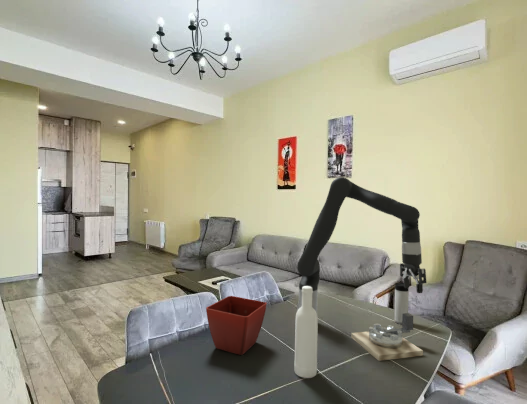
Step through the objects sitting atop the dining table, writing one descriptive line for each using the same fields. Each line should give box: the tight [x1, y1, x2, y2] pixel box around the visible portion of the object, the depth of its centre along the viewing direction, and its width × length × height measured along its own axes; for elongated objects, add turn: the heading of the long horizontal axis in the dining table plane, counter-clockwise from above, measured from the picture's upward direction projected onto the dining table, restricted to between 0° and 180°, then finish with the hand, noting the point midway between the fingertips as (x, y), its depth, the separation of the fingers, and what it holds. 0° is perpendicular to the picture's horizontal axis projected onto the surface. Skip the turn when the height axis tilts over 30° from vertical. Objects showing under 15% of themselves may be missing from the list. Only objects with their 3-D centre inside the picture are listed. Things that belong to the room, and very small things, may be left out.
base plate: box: [350, 330, 424, 362], centre depth 125 cm, size 20×20×2 cm
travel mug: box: [394, 282, 410, 326], centre depth 151 cm, size 6×7×20 cm
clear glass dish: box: [368, 312, 414, 348], centre depth 126 cm, size 19×13×10 cm
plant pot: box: [205, 295, 267, 356], centre depth 123 cm, size 19×19×17 cm
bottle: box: [293, 286, 319, 379], centre depth 105 cm, size 8×8×30 cm
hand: (413, 290), depth 128 cm, fingers open, 8 cm apart
